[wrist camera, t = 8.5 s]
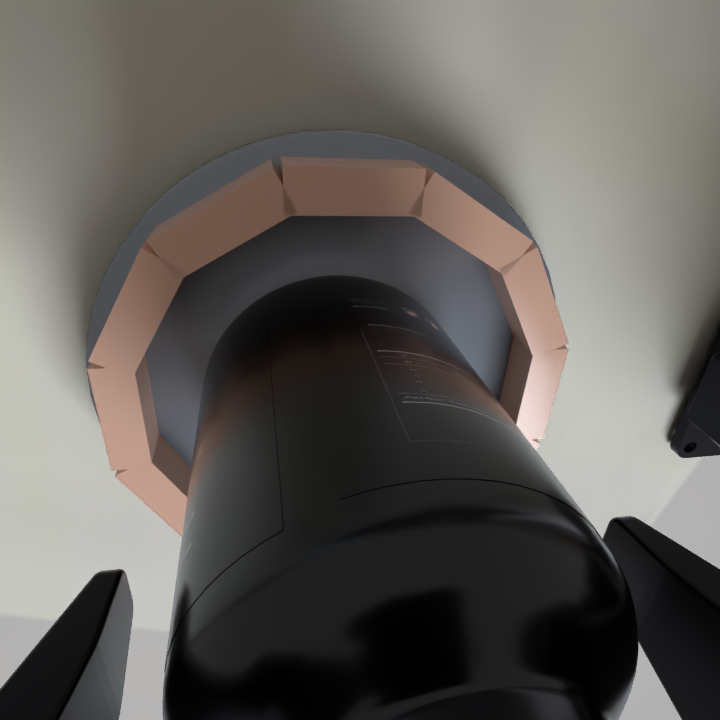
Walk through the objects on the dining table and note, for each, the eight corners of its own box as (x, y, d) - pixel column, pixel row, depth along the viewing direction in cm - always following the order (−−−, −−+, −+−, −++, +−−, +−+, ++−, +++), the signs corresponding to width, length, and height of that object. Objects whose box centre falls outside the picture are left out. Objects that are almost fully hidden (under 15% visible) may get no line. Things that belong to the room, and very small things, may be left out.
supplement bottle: (354, 504, 17) (507, 1176, 7) (158, 417, 14) (-102, 1363, 4) (497, 348, 15) (1032, 972, 5) (301, 209, 12) (575, 1040, 2)
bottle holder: (589, 138, 13) (643, 150, 12) (498, 507, 20) (524, 553, 18) (43, 118, 11) (0, 128, 9) (137, 542, 17) (123, 599, 16)
